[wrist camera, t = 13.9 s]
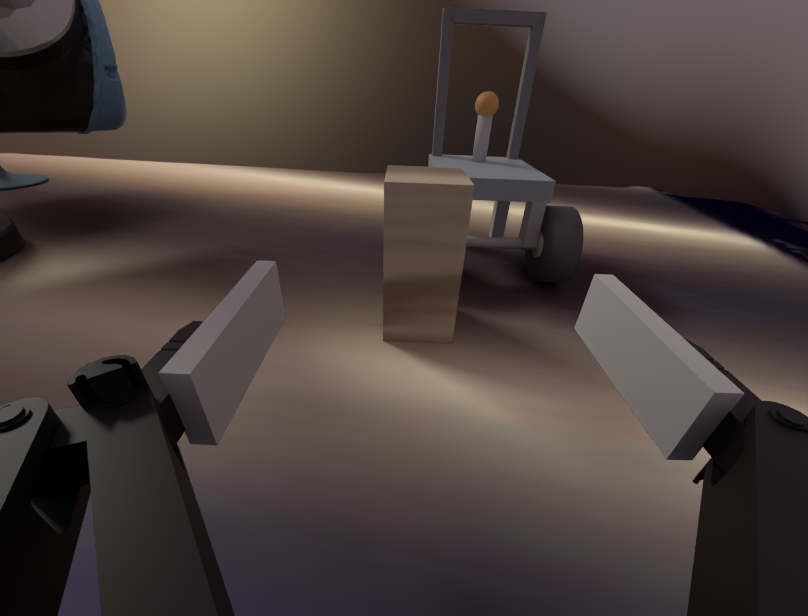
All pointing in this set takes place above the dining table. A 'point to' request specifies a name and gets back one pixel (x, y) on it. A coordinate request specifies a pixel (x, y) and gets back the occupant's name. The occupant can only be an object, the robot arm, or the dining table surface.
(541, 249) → the trolley
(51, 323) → the dining table surface
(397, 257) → the block
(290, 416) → the dining table surface
